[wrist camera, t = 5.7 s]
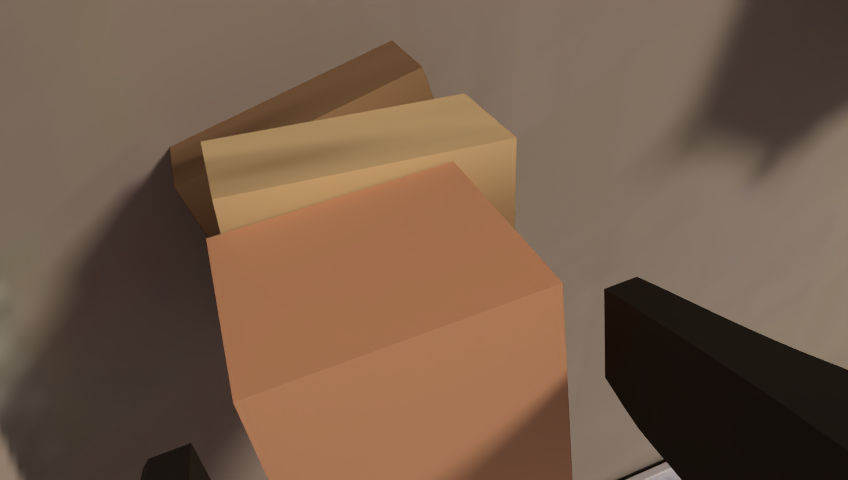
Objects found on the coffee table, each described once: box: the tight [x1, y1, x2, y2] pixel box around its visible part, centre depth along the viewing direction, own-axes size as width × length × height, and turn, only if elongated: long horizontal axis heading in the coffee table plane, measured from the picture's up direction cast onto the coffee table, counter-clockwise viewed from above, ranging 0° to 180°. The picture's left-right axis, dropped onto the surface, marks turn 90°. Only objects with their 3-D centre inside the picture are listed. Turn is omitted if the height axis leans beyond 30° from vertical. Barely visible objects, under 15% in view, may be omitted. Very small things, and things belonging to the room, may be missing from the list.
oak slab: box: [201, 94, 517, 234], centre depth 15 cm, size 6×6×2 cm
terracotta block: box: [206, 161, 572, 480], centre depth 12 cm, size 4×4×4 cm
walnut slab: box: [170, 41, 434, 238], centre depth 17 cm, size 6×6×2 cm
